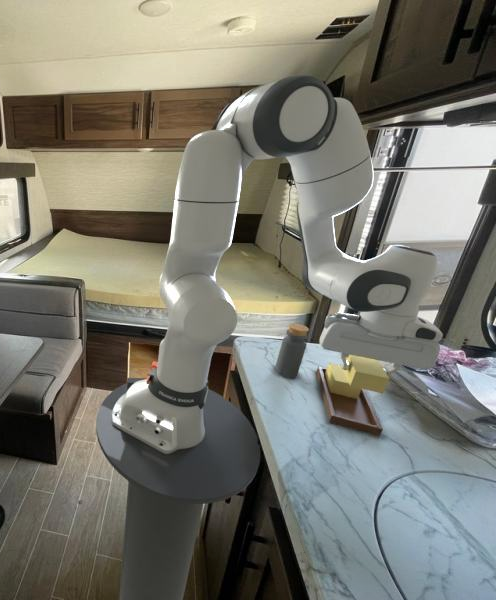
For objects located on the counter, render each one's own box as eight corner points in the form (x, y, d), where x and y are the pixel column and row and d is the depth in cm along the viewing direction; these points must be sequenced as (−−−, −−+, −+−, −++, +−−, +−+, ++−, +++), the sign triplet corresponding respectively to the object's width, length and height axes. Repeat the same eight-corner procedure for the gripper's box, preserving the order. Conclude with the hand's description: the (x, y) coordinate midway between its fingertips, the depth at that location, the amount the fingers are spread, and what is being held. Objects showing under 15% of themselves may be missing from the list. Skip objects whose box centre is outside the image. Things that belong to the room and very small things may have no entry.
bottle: (292, 367, 97) (306, 323, 91) (300, 379, 92) (315, 333, 86) (271, 365, 98) (283, 321, 92) (278, 376, 92) (291, 330, 87)
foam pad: (350, 385, 73) (355, 371, 72) (342, 365, 81) (347, 352, 79) (383, 393, 71) (389, 378, 69) (371, 372, 78) (377, 358, 77)
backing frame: (329, 422, 76) (331, 415, 75) (316, 372, 95) (318, 366, 94) (379, 436, 72) (383, 429, 72) (355, 381, 91) (358, 375, 90)
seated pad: (330, 392, 85) (334, 380, 84) (324, 374, 93) (328, 362, 91) (357, 399, 83) (362, 386, 82) (349, 380, 91) (354, 368, 89)
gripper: (330, 316, 71) (313, 368, 77) (454, 336, 63) (425, 393, 68) (326, 305, 77) (310, 355, 82) (439, 323, 68) (414, 377, 74)
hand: (363, 372), depth 75 cm, fingers closed on foam pad, 6 cm apart
